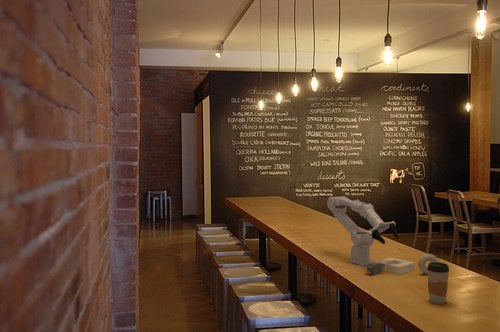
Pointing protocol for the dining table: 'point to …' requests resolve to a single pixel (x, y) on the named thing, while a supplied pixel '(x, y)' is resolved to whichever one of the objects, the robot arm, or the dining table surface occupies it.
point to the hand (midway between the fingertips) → (391, 240)
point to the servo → (374, 268)
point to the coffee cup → (437, 282)
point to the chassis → (397, 265)
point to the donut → (423, 260)
